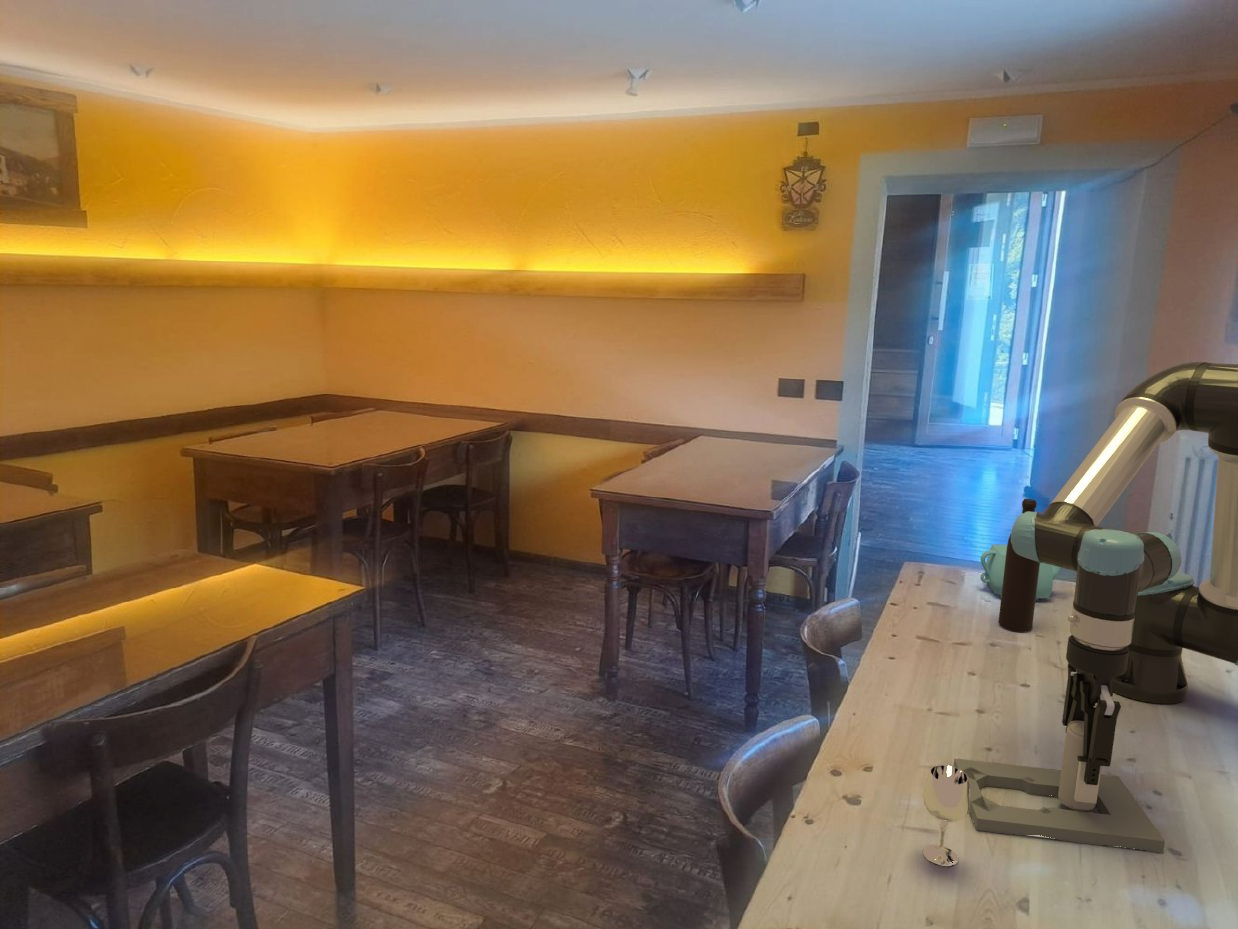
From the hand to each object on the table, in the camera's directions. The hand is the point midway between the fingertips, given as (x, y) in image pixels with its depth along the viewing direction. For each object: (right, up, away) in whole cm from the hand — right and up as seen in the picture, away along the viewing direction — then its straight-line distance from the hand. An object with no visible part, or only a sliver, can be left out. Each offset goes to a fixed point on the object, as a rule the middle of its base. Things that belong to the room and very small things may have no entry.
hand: (1078, 789), depth 123 cm
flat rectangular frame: (-4, -3, +1) cm, 5 cm away
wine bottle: (+24, +10, +70) cm, 75 cm away
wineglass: (-24, -5, -10) cm, 27 cm away
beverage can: (0, -2, 0) cm, 2 cm away
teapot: (+36, +14, +92) cm, 100 cm away
